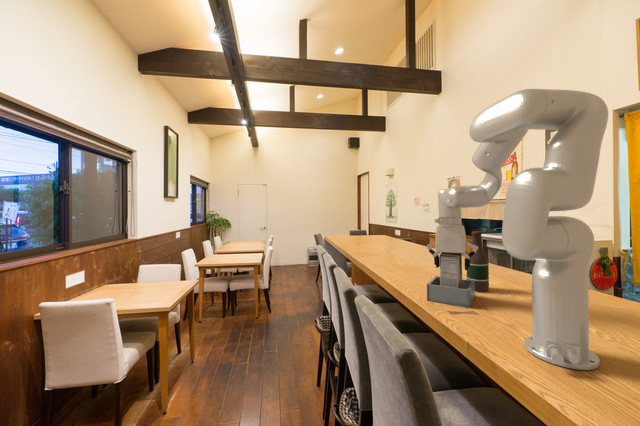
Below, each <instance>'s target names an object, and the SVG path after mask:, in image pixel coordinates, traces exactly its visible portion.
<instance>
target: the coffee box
mask: <svg viewBox="0 0 640 426" xmlns="http://www.w3.org/2000/svg"><path fill="white" fill-rule="evenodd" d="M462 256H463V254H456V253H439V258H440V266H439V277H440V286H446V287H453V288H460V289H462V279H463V262H462V261H463V259H462V258H463V257H462Z"/></svg>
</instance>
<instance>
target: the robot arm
mask: <svg viewBox="0 0 640 426" xmlns="http://www.w3.org/2000/svg"><path fill="white" fill-rule="evenodd" d="M608 120H609V109H608V106H607V104H606V102H605V100H603V98H602V97H600V96H598V95H596V94H595V93H594V94H593V93H592V92H591V93H590V92H587V91H581V90H575V89H574V90H572V89H571V90H570V89H550V88H549V89H548V88H526V89H520V90H518V91H516V92H513V93H511V94H509V95H507V96H506V97H504V98H502V99H500V100H498V101H496V102H494V103H493V104H491V105H489V106H487V107H485V108H484V109H482V110H481V111H480V112H479V113H478V114H477V115H476V116H474V118H473V120H472V122H471V123H470V125H469V133H468V134H469V136H470V139H471V140H473V142H476V143H480V144H479V145H478V147H477V149H476V150H475V152H474V153H473V155H472V158H471V161H472V164H473V165H474V166H475V167H476V168H477V169H479V170H481V171H482V172H485V175H484V177H483V178H482V180H481V182H479V184H478V185H454V186H451V187H449V188H443V189H440V190H439V191H438V193H437V202H438V203H437V204H438V205H437V206H438V207H437V208H438V218H436V219H434V223H436V224H438V225H436V229H435V240H434V241H431V242H430V243H428V244H426V246H425V247H426V248H427V250H428V252H429V253H430V254H431V255H432V257H433V258H434V260H433V261H434V262H433V263H434V265H435V268H436V269H438V268H440V254H441V253H456V254H462V256H463V257H464V260H463V261H464V270H465V271H467V270H468V268H470V258H471V257H472V256H473V255H474V254H475V253H476V251H477V249H478V246H476V245H474V244H472V242H469V241H467V235H466V229H465V226H464V225H462V224H463V223H462V221H463V220H462V209H465V208H482V207H485V206H486V205H488V204H489V203H490V202H491V201H492V200H494V197H496V195H497V193H498V192H499V191H500V189H501V187H502V183H503V173H502V168H503V166H504V164H505V163H506V162H507V161H508V159H509V158H510V156H511V155H512V154H513V152H514V151H515V150H516V149H517V147H518V146H519V144H520V143H521V142H522V140H523V139H524V138H525V136H526V135H527V133H528V132H529V130H537V131H538V130H539V131H540V130H543V131H544V130H550V131H551V130H552V131H557V132H556V133H555V134H554V135H553V137H552V138H551V139H550V141H549V142H548V144H547V147H546V149H545V155H544V156H545V157H544V163H543V166H542V167H531V168H527V169H526V168H525V169H524V170H522V171H520V172H518V173H517V174H516V175H515V176H514V177H513V178H512V179H511V180H510V183H509V185H508V187H507V188H506V189H507V190H506V194H505V203H504V210H503V218H502V226H501V228H502V229H501V241H502V244H503V245H502V246H503V248H504V250H505V251H506V252H507V254H508V255H510V256H511V257H512V258H514V259H516V260H521V261H535V262H534V266H533V269H532V273H531V308H532V310H531V311H532V313H531V314H532V315H531V316H532V317H531V318H532V319H531V320H532V321H531V322H532V325H531V326H532V336H529V337H527V338H525V340H524V348H525V349H526V350H527V351H528V352H529V353H530V354H532V355H533V356H535V357H537V358H539V359H540V360H543V361H545V362H548V363H550V364H553V365H556V366H560V367H562V368H567V369H572V370H578V371H591V370H596V369H597V368H599V367H600V364H601V363H600V362H601V361H600V357H599V356H598V355H597V354H596V353H594V351H592V350H590V326H589V325H590V324H589V322H590V321H589V320H590V319H589V318H590V317H589V313H590V311H589V289H590V287H589V274H590V265H591V259H592V256H593V252H594V247H595V236H594V233H593V230H592V228H590V226H589V225H588V224H587V223H586V222H584V221H583V220H580V219H579V218H576V217H572V216H566V215H553V216H549V215H550V212H567V211H573V210H574V211H575V210H578V209H582V208H584V207H585V206H587V205H588V204H589V203H590V202H591V200H592V197H593V194H594V190H595V184H596V178H597V172H598V166H599V161H600V154H601V148H602V144H603V140H604V136H605V132H606V129H607V127H608V126H607V125H608ZM433 246H435V248H434V249H435V250H434V249H433V248H432V247H433ZM468 247H469V248H472V249H473V250H472V252H471V253H470V252H468V251H467V250H468Z"/></svg>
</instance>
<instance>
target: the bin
mask: <svg viewBox="0 0 640 426" xmlns="http://www.w3.org/2000/svg"><path fill="white" fill-rule="evenodd" d="M475 293H476V292H475V285H474V281H472V280H467V279H464V278H462V289H460V288H453V287H446V286H440V275H435V276H434V277H433V278H431V280H430V281H429V282H427V284H426V300H427V301H428V302H433V303H439V304H446V305H450V306H455V307H462V308H466V309H471V307H472V305H473V302H474V299H475V295H476V294H475Z"/></svg>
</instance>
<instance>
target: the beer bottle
mask: <svg viewBox="0 0 640 426" xmlns="http://www.w3.org/2000/svg"><path fill="white" fill-rule="evenodd" d="M482 234H483V233H482V231H480V230H473V231H471V243H472V244H474V245H476V246H478V249H477V251H476V253H475V254H474V255H473V256H472V257H471V258H470V268H468V270H466V280H472V281H474V285H475V291H476V292H475V293H486V292H489V289H490V277H489V275H490V272H489V268H490V267H489V258H488V255H487V254H486V252H485V251H484V249H483V240H482V239H483V237H482ZM470 248H471V247H470ZM472 250H473V249H472V248H471V249H470V251H469V253H471V252H472Z"/></svg>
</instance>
